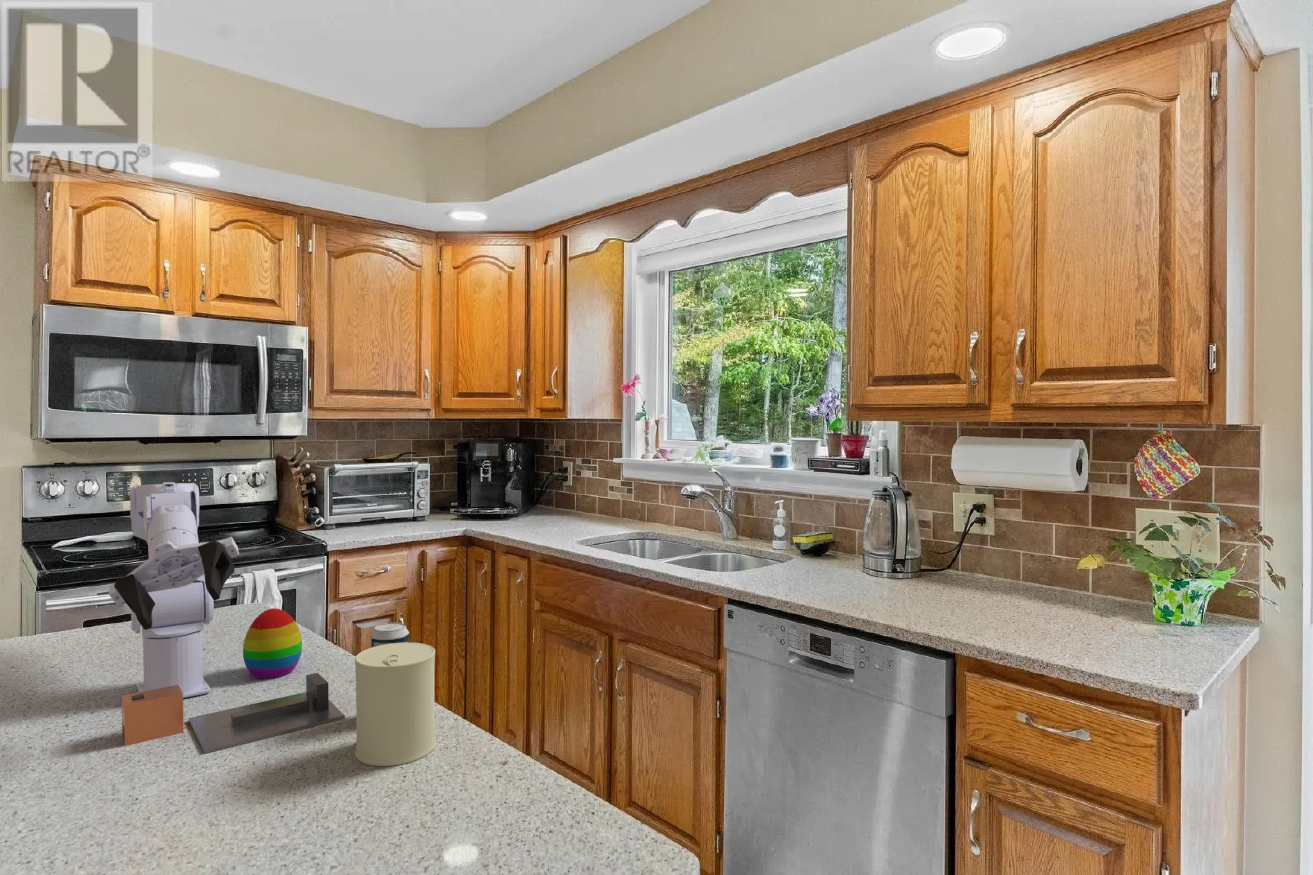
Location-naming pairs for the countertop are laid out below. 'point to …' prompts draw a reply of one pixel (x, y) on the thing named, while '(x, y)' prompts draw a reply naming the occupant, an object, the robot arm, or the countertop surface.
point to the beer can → (389, 634)
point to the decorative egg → (272, 645)
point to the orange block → (152, 714)
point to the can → (395, 703)
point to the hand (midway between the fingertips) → (179, 608)
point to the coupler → (266, 717)
